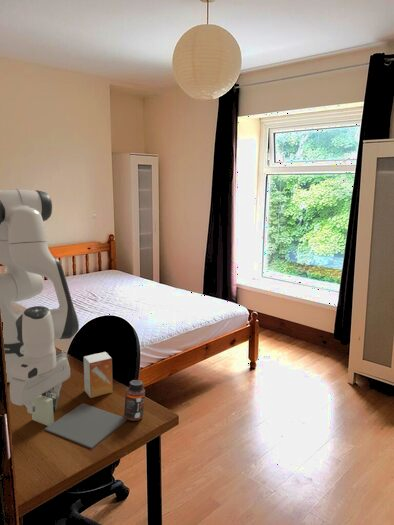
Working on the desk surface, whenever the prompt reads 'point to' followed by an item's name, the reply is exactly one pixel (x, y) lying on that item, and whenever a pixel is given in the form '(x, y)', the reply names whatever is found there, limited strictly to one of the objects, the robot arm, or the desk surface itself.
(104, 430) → the mat
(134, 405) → the supplement bottle
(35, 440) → the desk surface
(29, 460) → the desk surface
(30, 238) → the robot arm
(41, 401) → the tile
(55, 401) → the multiport hub
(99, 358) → the small box
